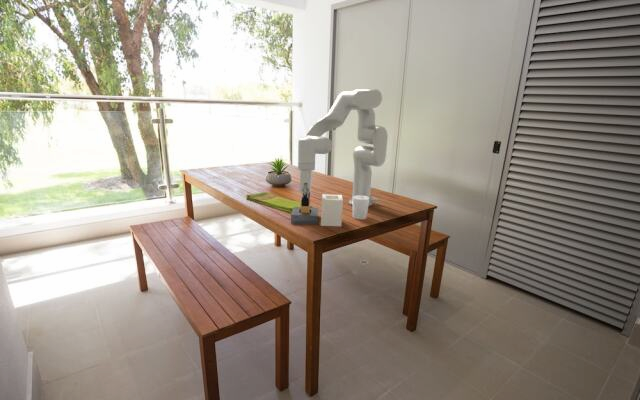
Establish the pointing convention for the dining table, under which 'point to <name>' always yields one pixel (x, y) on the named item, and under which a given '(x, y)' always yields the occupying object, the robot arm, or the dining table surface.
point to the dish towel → (274, 201)
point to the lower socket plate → (304, 216)
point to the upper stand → (331, 210)
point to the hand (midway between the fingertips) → (305, 202)
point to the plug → (305, 207)
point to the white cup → (360, 206)
